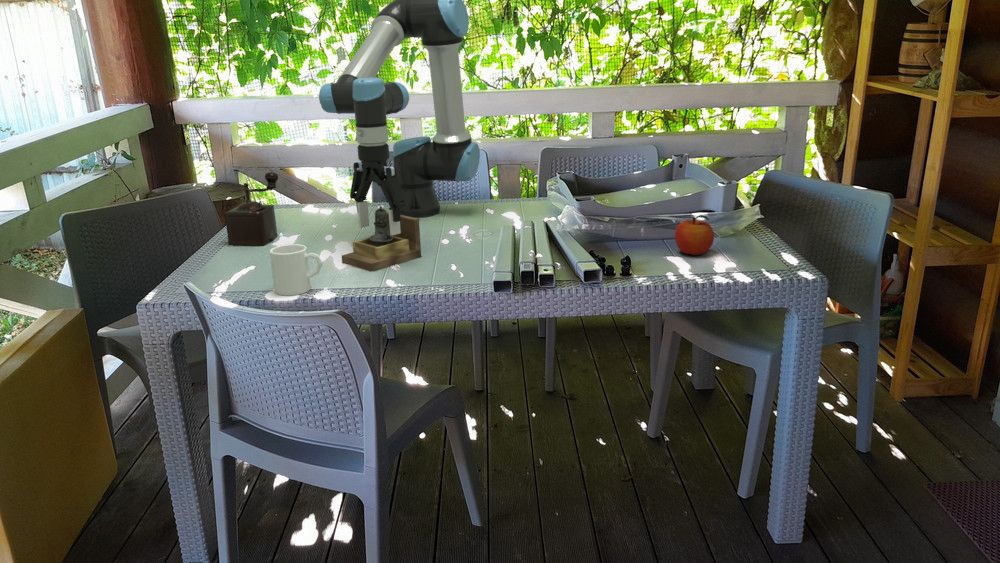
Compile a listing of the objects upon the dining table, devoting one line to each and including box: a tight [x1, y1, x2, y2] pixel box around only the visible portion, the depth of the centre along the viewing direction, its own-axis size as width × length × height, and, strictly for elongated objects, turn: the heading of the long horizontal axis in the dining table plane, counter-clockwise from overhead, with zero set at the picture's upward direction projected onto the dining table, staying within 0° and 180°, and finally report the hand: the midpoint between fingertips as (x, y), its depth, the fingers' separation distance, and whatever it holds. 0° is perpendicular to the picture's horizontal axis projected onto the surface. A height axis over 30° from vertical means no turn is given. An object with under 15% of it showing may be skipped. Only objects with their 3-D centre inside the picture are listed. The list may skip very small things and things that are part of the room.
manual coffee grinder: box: [224, 171, 279, 247], centre depth 227 cm, size 16×11×18 cm
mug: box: [269, 243, 324, 297], centre depth 183 cm, size 8×12×10 cm
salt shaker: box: [368, 205, 393, 247], centre depth 203 cm, size 6×6×12 cm
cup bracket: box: [340, 211, 422, 272], centre depth 205 cm, size 16×12×10 cm
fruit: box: [674, 214, 715, 256], centre depth 202 cm, size 10×10×10 cm
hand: (379, 230), depth 204 cm, fingers open, 11 cm apart
